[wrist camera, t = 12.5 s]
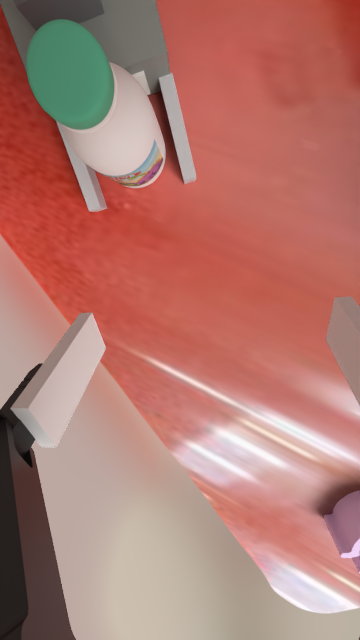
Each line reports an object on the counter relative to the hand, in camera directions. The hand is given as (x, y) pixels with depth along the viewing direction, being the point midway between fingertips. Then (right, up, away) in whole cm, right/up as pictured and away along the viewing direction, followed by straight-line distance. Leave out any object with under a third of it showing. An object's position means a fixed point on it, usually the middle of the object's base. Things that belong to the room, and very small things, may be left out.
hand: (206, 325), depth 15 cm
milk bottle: (-7, +21, +18) cm, 29 cm away
